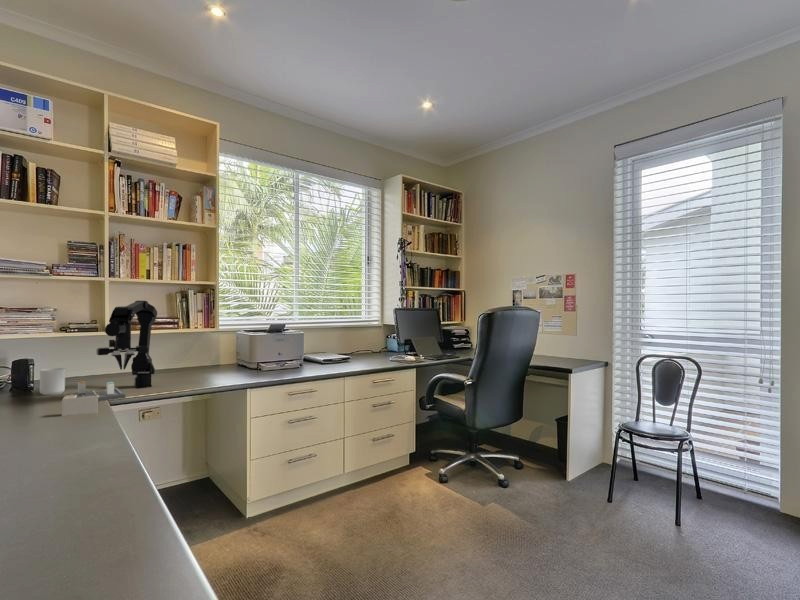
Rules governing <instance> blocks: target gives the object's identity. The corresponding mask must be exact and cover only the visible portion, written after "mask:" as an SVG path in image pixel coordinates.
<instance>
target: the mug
mask: <svg viewBox="0 0 800 600" xmlns="http://www.w3.org/2000/svg"><path fill="white" fill-rule="evenodd" d="M65 390H66V368H65V367H52V368H51V367H50V368H42V369H39V393H40V394H41V395H42V396H53V395H55V396H56V395H60V394H63V392H65Z"/></svg>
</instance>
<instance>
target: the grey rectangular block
mask: <svg viewBox="0 0 800 600" xmlns="http://www.w3.org/2000/svg"><path fill="white" fill-rule="evenodd" d="M86 383H87V382H86V381H85V380H82V381H77V392H78V393H79V394H80V393H86V391H87V390H86V388H87V387H86V385H87V384H86Z"/></svg>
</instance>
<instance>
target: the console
mask: <svg viewBox="0 0 800 600" xmlns="http://www.w3.org/2000/svg"><path fill="white" fill-rule="evenodd" d="M97 393H99V394H98V395H97V396H98V402H102V401H101V400H103V401H108V400H107V399H111V400H115V399H116V400H117V399H125V398H126V394H125V393H124V392H123V391H122V390H121V389H119V387H115V386H114V394H108V395H107V394H106V388H105V389H95V390H88V391H87V390H86V393H80V394H79V393H78V391H77V392H72V391H69V392H68V393H65V396H68V395H77V397H76V398H80V397H93V396H95V395H96V394H97Z"/></svg>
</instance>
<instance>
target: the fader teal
mask: <svg viewBox="0 0 800 600" xmlns="http://www.w3.org/2000/svg"><path fill="white" fill-rule="evenodd" d="M105 383H106V384H105V385H106V386H105V387H106V388H105V389H106V394H107V395H108V394H114V387H115V382H114V381H107V382H106V381H105Z"/></svg>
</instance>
